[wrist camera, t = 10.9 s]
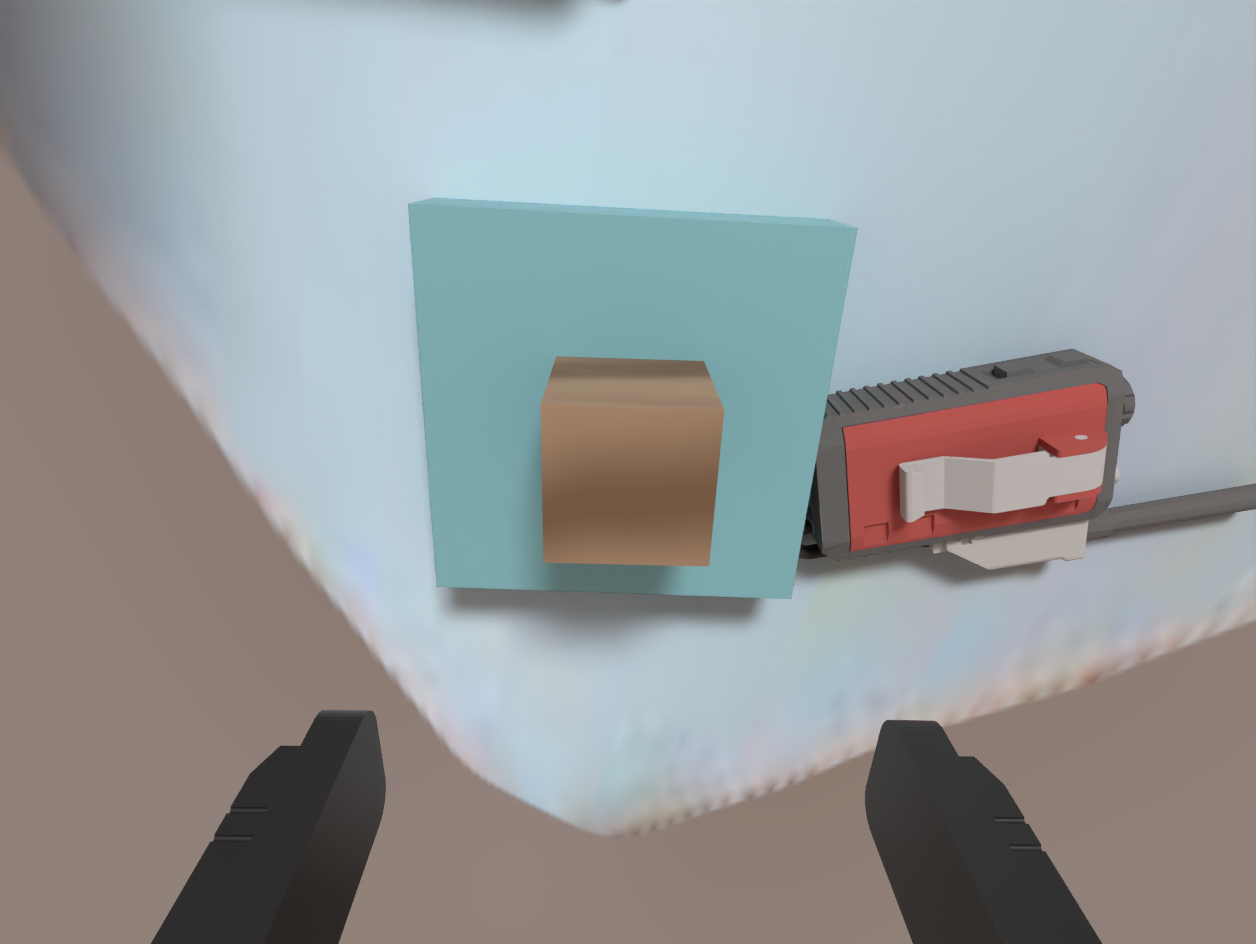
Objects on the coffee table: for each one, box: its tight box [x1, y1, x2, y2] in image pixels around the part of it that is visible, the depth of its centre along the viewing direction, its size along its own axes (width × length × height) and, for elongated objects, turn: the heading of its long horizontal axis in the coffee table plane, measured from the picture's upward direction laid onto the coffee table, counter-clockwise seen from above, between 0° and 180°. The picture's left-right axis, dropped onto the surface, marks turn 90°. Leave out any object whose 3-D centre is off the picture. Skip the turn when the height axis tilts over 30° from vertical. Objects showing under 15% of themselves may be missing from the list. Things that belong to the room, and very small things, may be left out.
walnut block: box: [540, 356, 724, 567], centre depth 22 cm, size 5×5×5 cm
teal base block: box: [408, 198, 858, 599], centre depth 26 cm, size 14×14×4 cm
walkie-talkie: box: [799, 349, 1256, 570], centre depth 27 cm, size 9×4×20 cm
